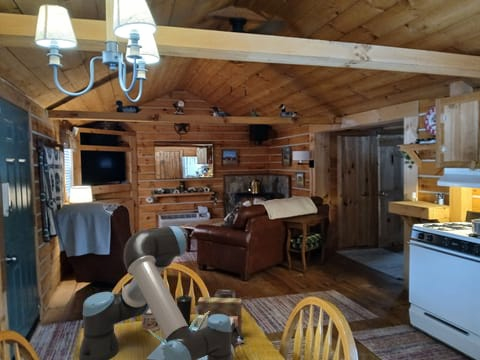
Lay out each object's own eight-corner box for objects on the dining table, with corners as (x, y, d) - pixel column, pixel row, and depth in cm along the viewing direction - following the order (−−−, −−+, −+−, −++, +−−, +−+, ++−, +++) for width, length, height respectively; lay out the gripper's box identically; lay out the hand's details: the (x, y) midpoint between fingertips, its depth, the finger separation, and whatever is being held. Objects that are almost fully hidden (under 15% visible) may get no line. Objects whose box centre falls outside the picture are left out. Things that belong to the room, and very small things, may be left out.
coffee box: (236, 322, 172) (236, 289, 171) (233, 328, 166) (232, 294, 165) (218, 320, 174) (218, 288, 173) (214, 326, 168) (214, 293, 167)
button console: (198, 337, 157) (198, 300, 156) (201, 331, 163) (200, 295, 162) (240, 339, 155) (240, 302, 154) (241, 332, 161) (241, 297, 161)
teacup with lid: (139, 332, 162) (139, 307, 161) (143, 323, 171) (143, 300, 170) (166, 331, 162) (166, 306, 162) (168, 323, 172) (168, 299, 171)
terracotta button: (227, 330, 150) (227, 319, 149) (230, 322, 158) (230, 311, 157) (237, 330, 149) (237, 319, 149) (238, 322, 157) (238, 311, 157)
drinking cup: (188, 321, 173) (188, 281, 172) (195, 327, 166) (194, 286, 165) (173, 325, 169) (173, 284, 168) (179, 332, 162) (179, 289, 161)
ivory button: (197, 329, 151) (197, 317, 151) (201, 321, 159) (201, 310, 158) (206, 329, 150) (206, 318, 150) (210, 321, 158) (210, 310, 158)
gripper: (205, 360, 121) (216, 329, 144) (243, 362, 119) (247, 330, 143) (204, 339, 120) (215, 311, 144) (242, 340, 119) (247, 312, 143)
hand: (231, 320), depth 143 cm, fingers closed
